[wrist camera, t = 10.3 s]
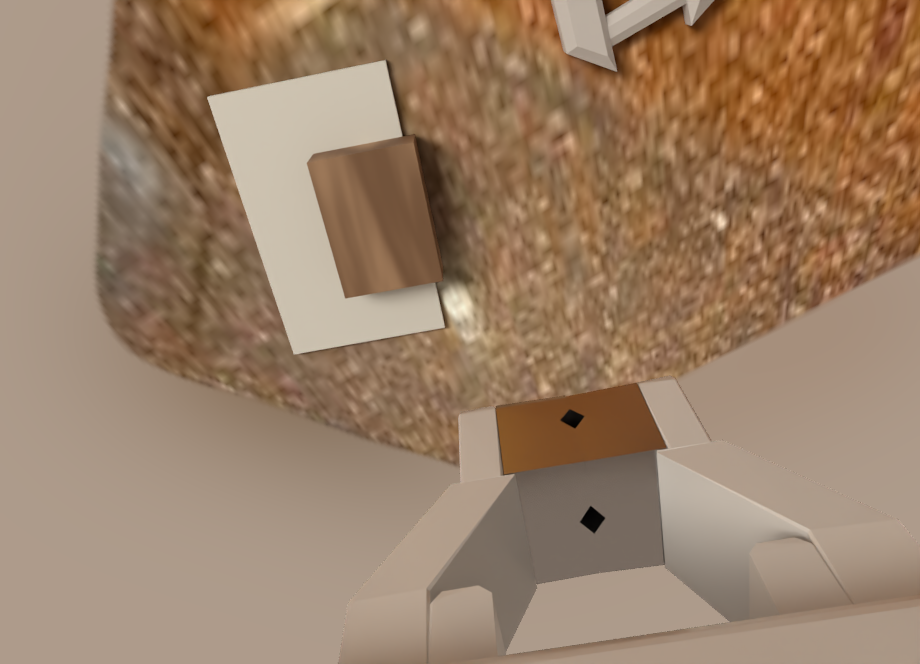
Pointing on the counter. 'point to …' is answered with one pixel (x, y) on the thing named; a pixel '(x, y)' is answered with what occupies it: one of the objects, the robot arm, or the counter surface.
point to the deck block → (377, 216)
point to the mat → (314, 200)
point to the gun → (612, 24)
